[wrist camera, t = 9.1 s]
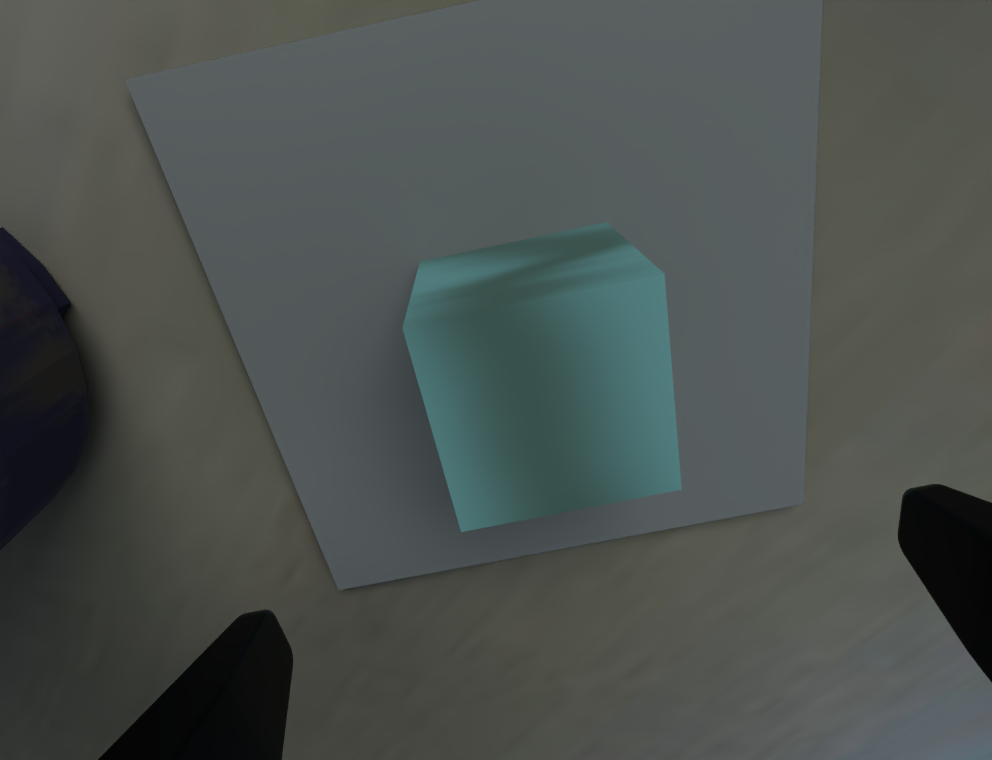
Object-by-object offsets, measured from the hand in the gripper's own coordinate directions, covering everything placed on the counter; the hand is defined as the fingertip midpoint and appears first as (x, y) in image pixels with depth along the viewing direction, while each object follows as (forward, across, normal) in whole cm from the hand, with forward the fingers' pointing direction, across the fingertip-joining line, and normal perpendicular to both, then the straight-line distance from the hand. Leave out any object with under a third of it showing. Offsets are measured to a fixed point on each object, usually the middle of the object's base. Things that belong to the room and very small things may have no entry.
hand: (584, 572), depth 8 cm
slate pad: (+10, 0, 0) cm, 10 cm away
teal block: (+9, 0, 0) cm, 9 cm away
